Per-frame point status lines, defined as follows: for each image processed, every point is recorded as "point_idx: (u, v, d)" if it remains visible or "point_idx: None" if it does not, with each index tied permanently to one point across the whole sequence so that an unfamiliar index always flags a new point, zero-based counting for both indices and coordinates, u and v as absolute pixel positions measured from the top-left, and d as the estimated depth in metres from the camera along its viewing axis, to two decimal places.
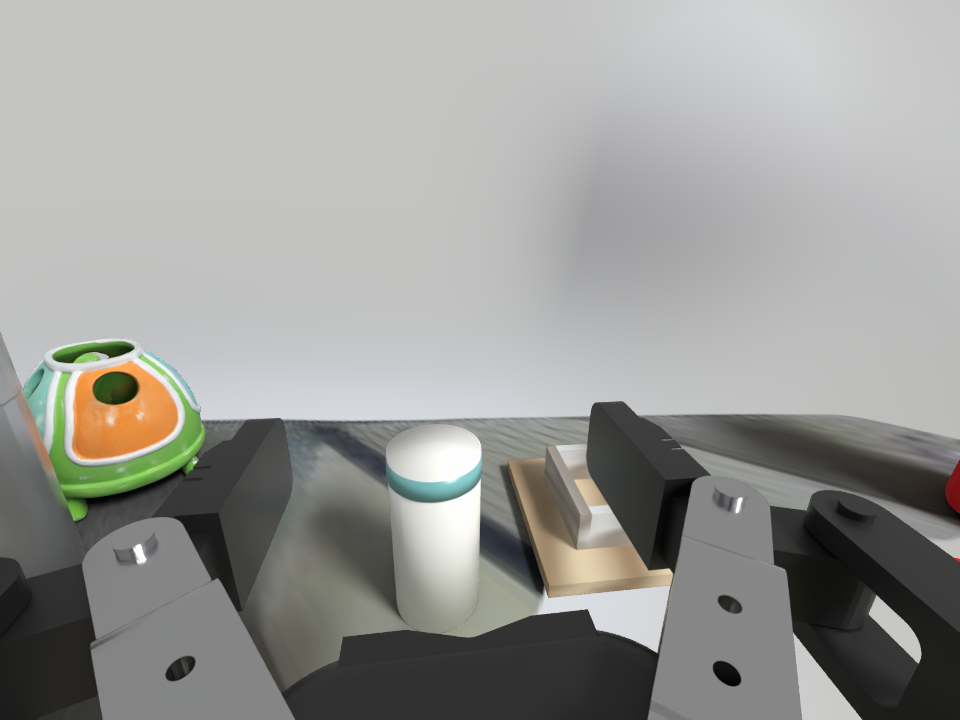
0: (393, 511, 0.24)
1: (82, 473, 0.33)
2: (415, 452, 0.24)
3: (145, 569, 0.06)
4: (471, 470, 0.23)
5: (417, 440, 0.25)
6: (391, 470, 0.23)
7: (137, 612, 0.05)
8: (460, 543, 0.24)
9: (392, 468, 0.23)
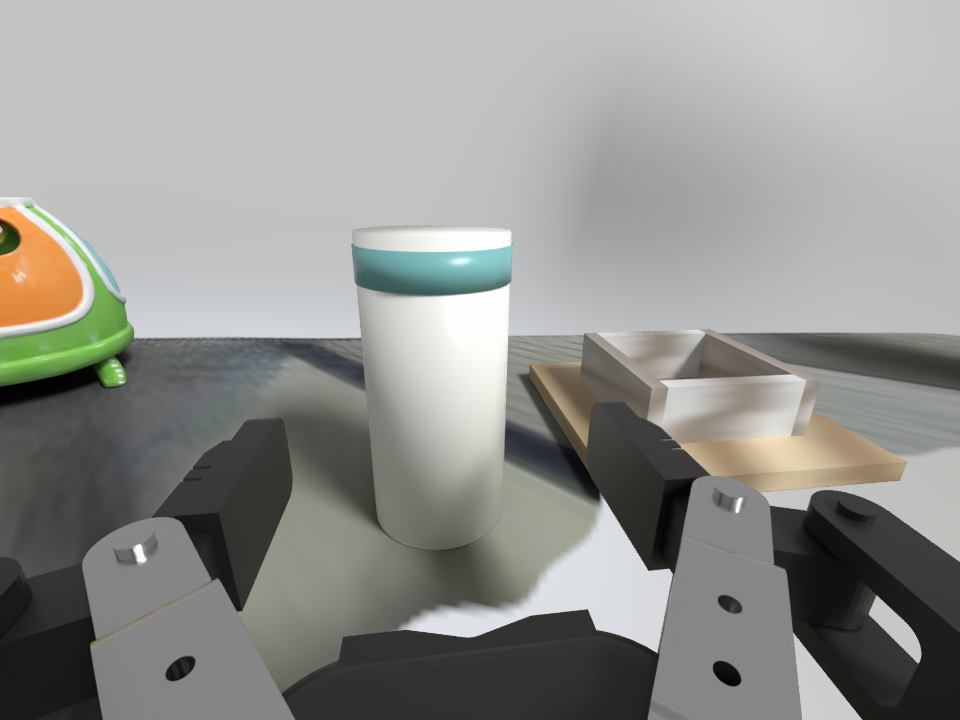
0: (365, 334, 0.14)
1: None
2: (401, 231, 0.14)
3: (146, 569, 0.06)
4: (497, 248, 0.13)
5: (405, 228, 0.15)
6: (360, 248, 0.13)
7: (137, 612, 0.05)
8: (479, 386, 0.14)
9: (361, 242, 0.13)
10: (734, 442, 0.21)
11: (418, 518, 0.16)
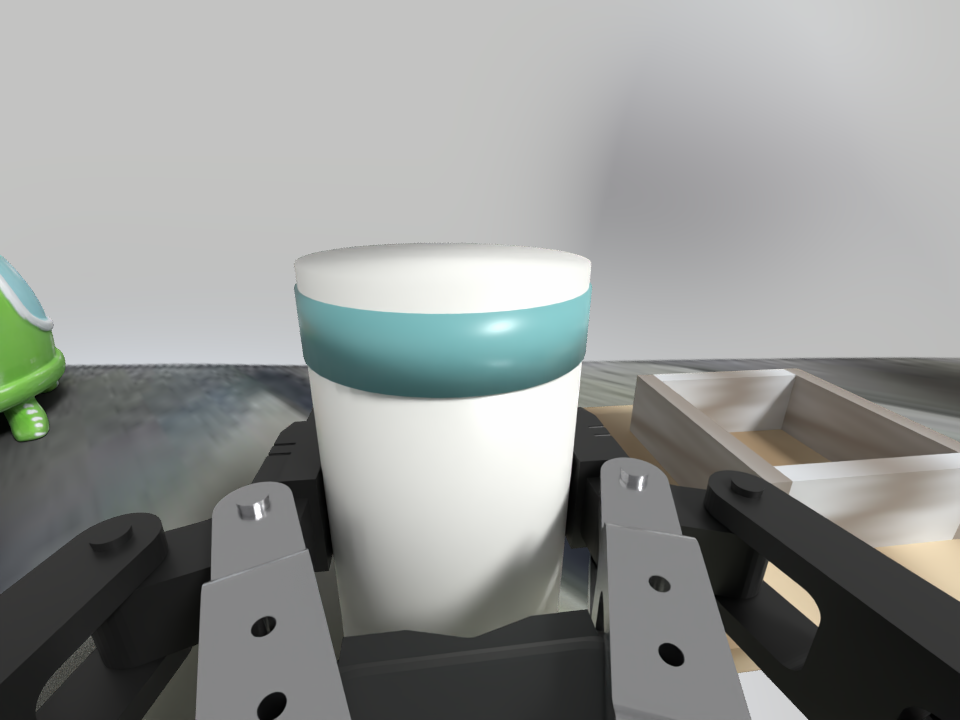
0: (322, 448, 0.08)
1: None
2: (388, 260, 0.08)
3: (257, 526, 0.07)
4: (575, 298, 0.07)
5: (397, 251, 0.09)
6: (305, 297, 0.07)
7: (275, 554, 0.06)
8: (531, 544, 0.08)
9: (306, 286, 0.07)
10: None
11: None
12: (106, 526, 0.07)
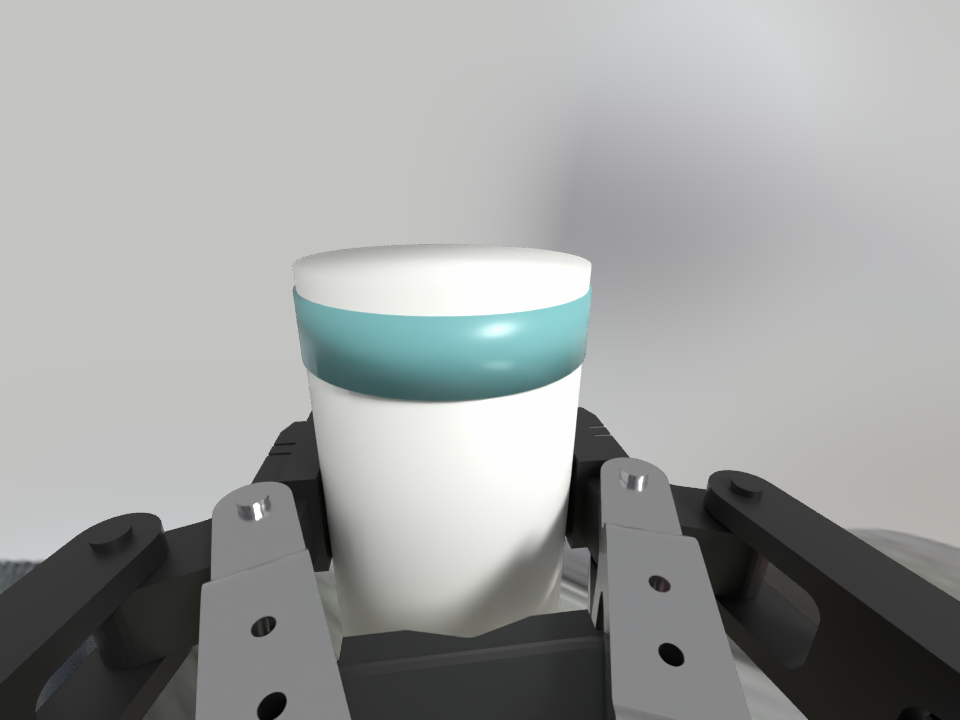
0: (321, 451, 0.08)
1: None
2: (388, 262, 0.08)
3: (257, 526, 0.07)
4: (575, 300, 0.07)
5: (397, 253, 0.09)
6: (303, 299, 0.07)
7: (275, 555, 0.06)
8: (530, 547, 0.08)
9: (304, 289, 0.07)
10: None
11: None
12: (106, 527, 0.07)
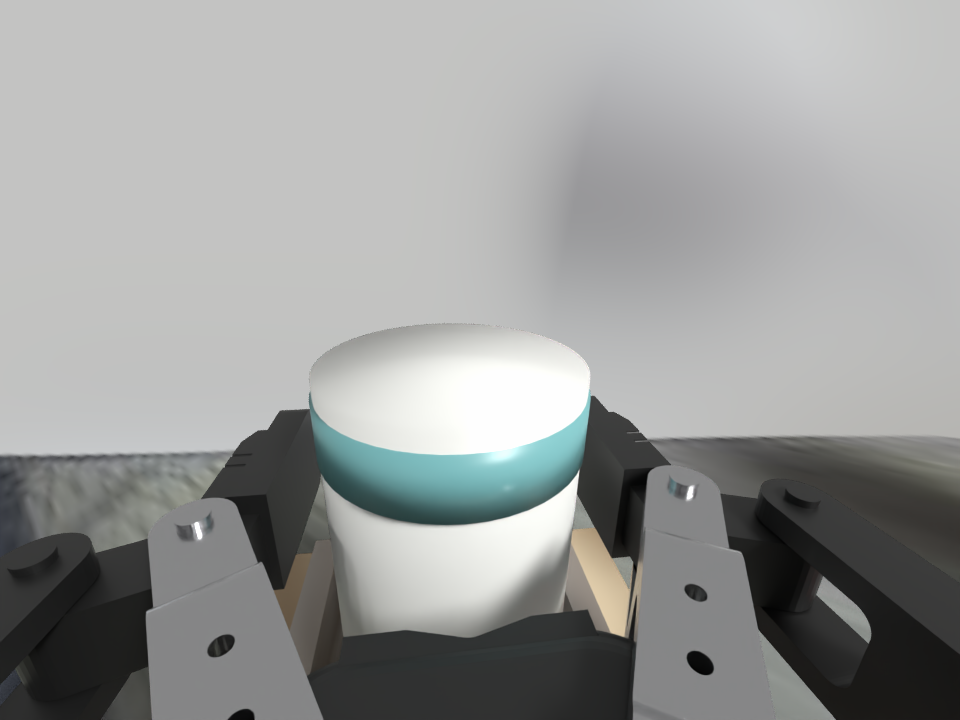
0: (334, 545, 0.08)
1: None
2: (398, 371, 0.08)
3: (201, 545, 0.06)
4: (574, 421, 0.07)
5: (405, 348, 0.09)
6: (320, 419, 0.07)
7: (206, 580, 0.06)
8: None
9: (322, 412, 0.07)
10: None
11: None
12: (27, 550, 0.06)
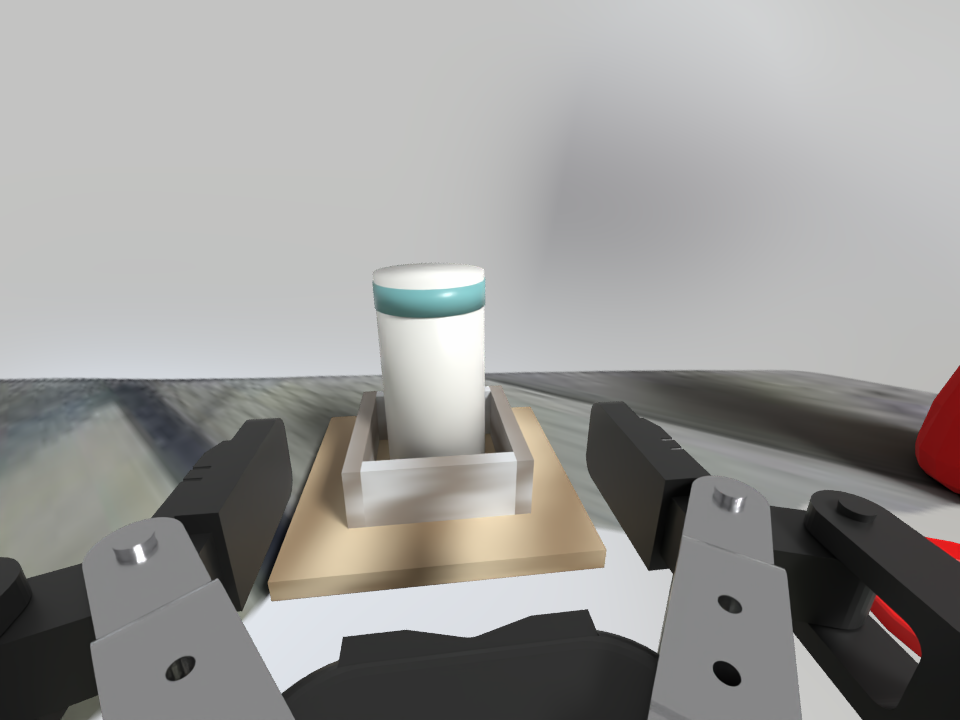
0: (382, 344, 0.21)
1: None
2: (407, 272, 0.20)
3: (146, 568, 0.06)
4: (472, 284, 0.20)
5: (410, 268, 0.22)
6: (378, 286, 0.20)
7: (137, 612, 0.05)
8: (462, 379, 0.21)
9: (379, 282, 0.19)
10: (448, 523, 0.21)
11: None
12: None
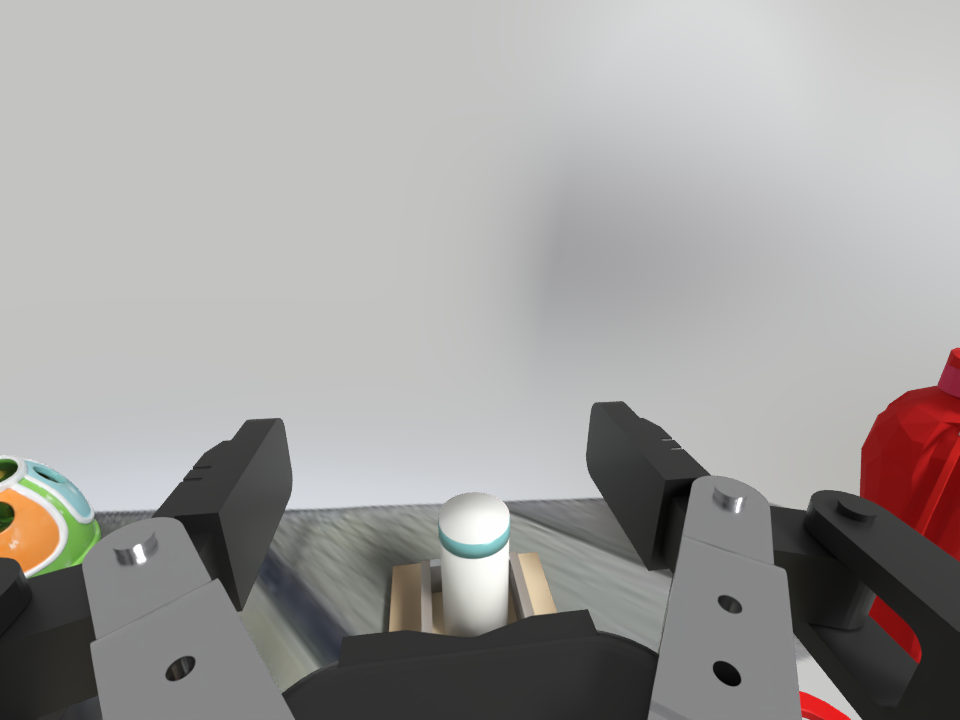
0: (444, 563, 0.32)
1: None
2: (460, 519, 0.32)
3: (146, 568, 0.06)
4: (502, 534, 0.31)
5: (461, 508, 0.33)
6: (443, 533, 0.31)
7: (137, 612, 0.05)
8: (495, 587, 0.32)
9: (444, 532, 0.31)
10: None
11: None
12: None
